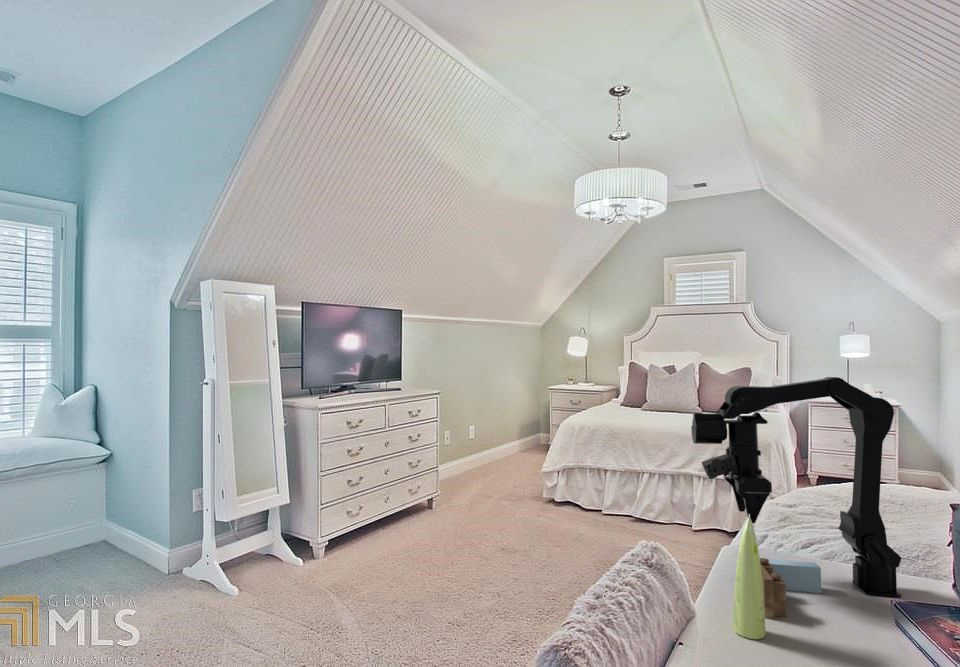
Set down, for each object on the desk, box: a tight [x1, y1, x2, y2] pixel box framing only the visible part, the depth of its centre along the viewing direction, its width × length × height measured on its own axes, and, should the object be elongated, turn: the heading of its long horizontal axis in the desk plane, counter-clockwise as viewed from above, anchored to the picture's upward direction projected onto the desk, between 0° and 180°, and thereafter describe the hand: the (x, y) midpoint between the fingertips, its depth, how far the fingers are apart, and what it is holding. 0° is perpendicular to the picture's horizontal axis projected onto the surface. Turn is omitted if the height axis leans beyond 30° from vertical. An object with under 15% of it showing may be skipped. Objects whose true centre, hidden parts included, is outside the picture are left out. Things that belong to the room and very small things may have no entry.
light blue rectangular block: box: [767, 558, 822, 594], centre depth 116 cm, size 13×3×5 cm, turn 77°
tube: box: [733, 514, 766, 640], centre depth 96 cm, size 6×5×20 cm
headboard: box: [759, 557, 787, 620], centre depth 108 cm, size 4×14×7 cm, turn 167°
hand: (746, 517), depth 120 cm, fingers open, 9 cm apart
